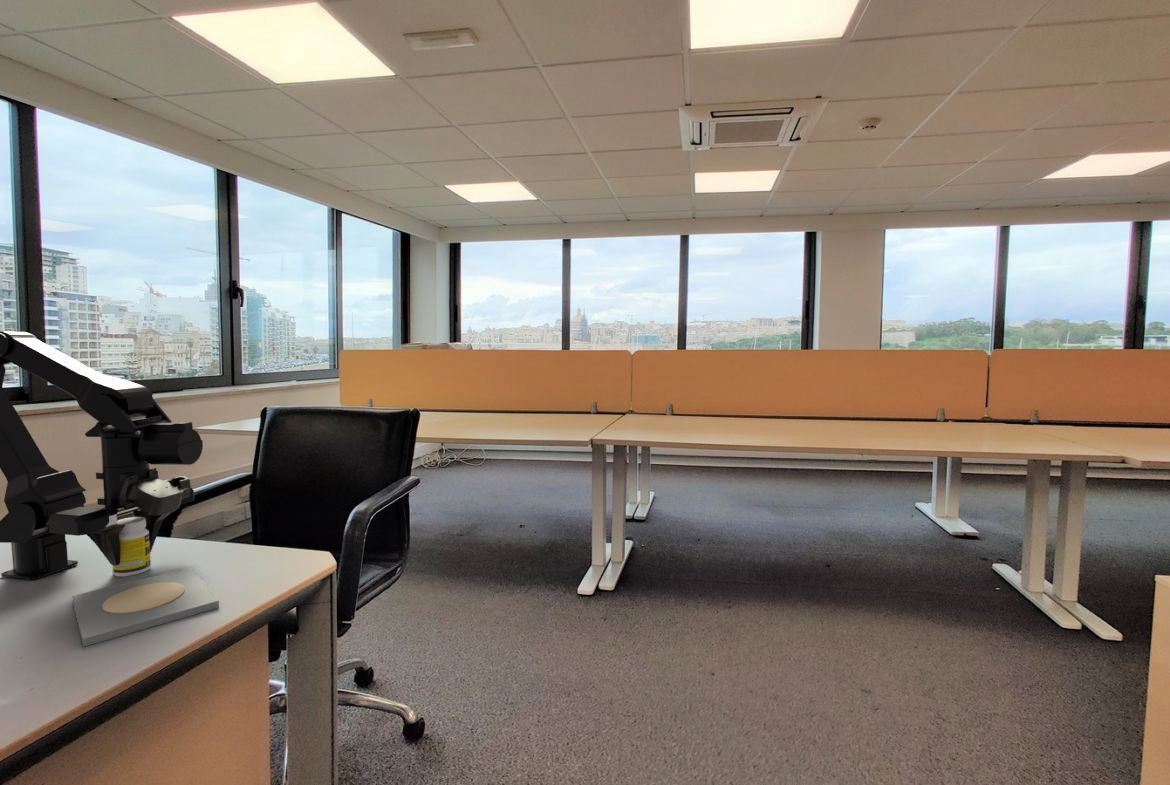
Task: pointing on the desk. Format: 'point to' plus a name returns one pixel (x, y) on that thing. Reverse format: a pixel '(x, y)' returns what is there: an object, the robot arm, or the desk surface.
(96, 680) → the desk surface
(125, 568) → the supplement bottle
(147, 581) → the slate board
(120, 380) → the robot arm
